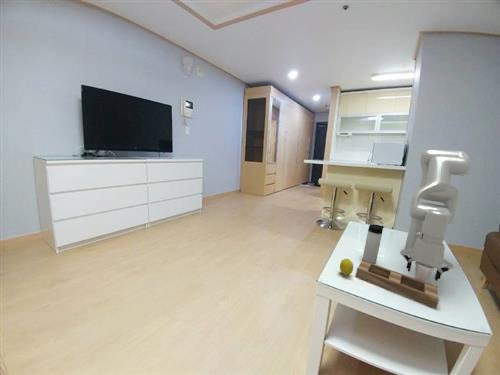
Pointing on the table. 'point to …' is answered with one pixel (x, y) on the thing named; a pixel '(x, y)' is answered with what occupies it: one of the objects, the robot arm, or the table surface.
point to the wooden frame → (399, 283)
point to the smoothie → (423, 271)
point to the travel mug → (372, 243)
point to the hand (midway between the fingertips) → (422, 274)
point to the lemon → (346, 266)
